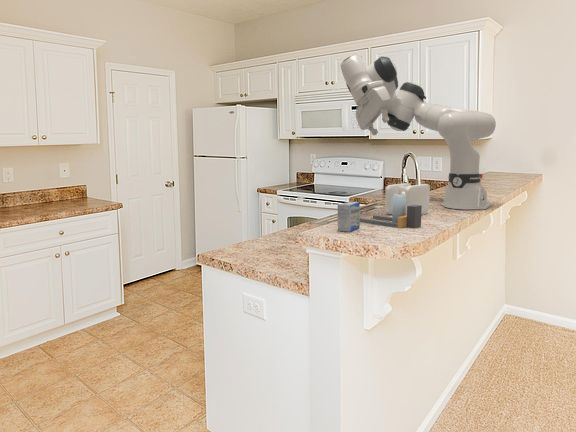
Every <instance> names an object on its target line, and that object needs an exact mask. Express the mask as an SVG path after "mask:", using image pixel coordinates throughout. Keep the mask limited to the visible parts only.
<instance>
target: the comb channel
mask: <svg viewBox="0 0 576 432" xmlns="http://www.w3.org/2000/svg"><path fill="white" fill-rule="evenodd" d="M421 210H422V206H421V205H410V206H407V215H405V216H401V217H398V223H394V222H392V216H385V215H379V214H374V215H372V219H371V218H366V217H365V218H363V217H360V223H363V222H364V223H365V224H371V225H377V226H383V227H391V228H398V229H404V228H411V229H416V228H420V227H422V215H421ZM364 223H363V224H364Z"/></svg>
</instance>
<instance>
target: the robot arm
mask: <svg viewBox="0 0 576 432" xmlns="http://www.w3.org/2000/svg"><path fill="white" fill-rule="evenodd" d="M340 69H341V74H342V76H343V79H344V81H345V83H346V84H345V85H346V87H347V89H348V91H349V93H350V94H351V96H352V99H353V101H354V103H355V105H356V111H355V119H356V121H357V123H358V126H359V129H360V130H361V131H364V130H368V131H370V132H371V135H372V136H377V134H378V133H379V131H378V129H377V128H375V127H374V123H375V122H376V121H377V119H378V118H379V117H380V116H381V117H382V118H381V120H382V122H383V123H385V124H387V125H388V126H389V128H391V129H393V130H394V131H396V132H406V131H407V130H408V129H409V127H410V126H411V123H412V122H413V119H414V120H415V122H417V124H419V125H420V126H421V127H423V128H426V129H428V130H431V131H434V132H438V134H439V135H440V136H441V137H442V138H443V139H444V141H445V142H446V144H447V146H448V149H449V155H450V158H449V159H450V161H449V163H450V167H449V169H450V171H449V173H448V178H447V179H448V182H449V183H448V184H446V186H445V190H444V197H443V202H441V203H440V205H441V206H443V207H445V208H446V209H447V208H448V209H454V210H487V209H489V208H490V207H492V206H493V202H489V201H487V199H488V196H487V195H488V193H487V190H486V189H485V188H484V187H483V185H482V184H481V180H482V179H483V177H484V176H483V173H480V158H481V157H480V153H479V152H478V150H476V149H475V148H474V146H473V144H472V140H480V139H484V138H488V137H490V136H491V135H493V133H494V132H495V130H496V118H495V117H494V116H493V115H492V114H491V113H487V112H483V111H478V110H472V109H465V108H458V107H451V106H446V105H442V104H437V103H428V102H426V101H424V100H426V99H427V96H425V91H424V89H423V87H422V86H420V85H419V84H418V83H416V82H406V81H405V82H403V83H402V85H401V86H400V88H399V91H398V92H397V94H396V91H397V89H398V87H399V81H398V71H397V67H396V64H395V63H394V61H393V60H392V59H391V58H390V57H388V56H380V57H378V58H377V59H376V60H375V61H373V62H371V64H369V65H367V66H366V65H365V63H364V61H363V60H362V58H361V57H360V55H359V54H352V55H350V56H348V57H347V58H345V59H344V60H343V61H342V62H341V63H340Z"/></svg>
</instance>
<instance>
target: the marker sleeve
mask: <svg viewBox="0 0 576 432" xmlns="http://www.w3.org/2000/svg"><path fill="white" fill-rule="evenodd" d="M405 215H406V195H393V207H392V216H391V217H392V221H391V222H394V223H398V217H401V216H405Z"/></svg>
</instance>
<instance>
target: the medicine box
mask: <svg viewBox="0 0 576 432" xmlns="http://www.w3.org/2000/svg"><path fill="white" fill-rule="evenodd" d="M360 204H361V203H360V202H358V201H346V202H344V203H343V202H342V203H340V204H337V231H338V232H346V233H351V232H354V231H355V230H357V229H359V228H360V226H361V225H360V224H361V222H360V218H361V217H360V216H361V215H360V213H361V211H360V210H361V209H360V208H361V205H360Z"/></svg>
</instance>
